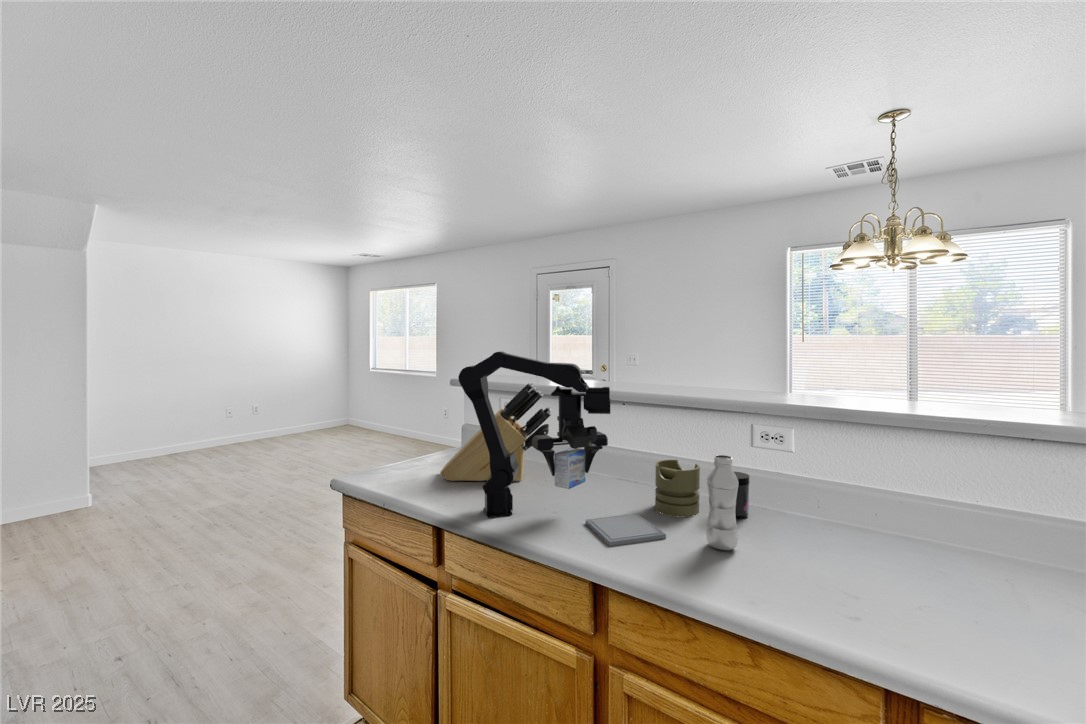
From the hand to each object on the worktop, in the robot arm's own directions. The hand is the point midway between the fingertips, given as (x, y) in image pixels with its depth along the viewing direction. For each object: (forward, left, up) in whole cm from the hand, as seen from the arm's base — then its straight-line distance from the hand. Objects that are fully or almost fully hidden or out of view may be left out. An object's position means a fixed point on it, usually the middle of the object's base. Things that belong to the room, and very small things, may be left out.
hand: (570, 474), depth 128 cm
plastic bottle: (+25, -28, -11) cm, 39 cm away
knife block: (-10, +40, -11) cm, 43 cm away
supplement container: (+41, -12, -11) cm, 44 cm away
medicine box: (0, 0, -3) cm, 3 cm away
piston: (+29, -4, -11) cm, 31 cm away
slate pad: (+9, -13, -11) cm, 19 cm away
